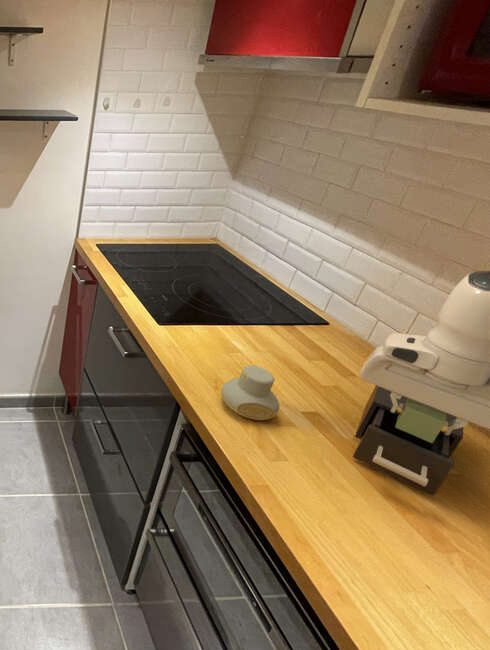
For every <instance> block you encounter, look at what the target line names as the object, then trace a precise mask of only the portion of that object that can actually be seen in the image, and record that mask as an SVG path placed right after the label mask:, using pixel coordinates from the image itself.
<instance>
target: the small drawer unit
mask: <svg viewBox="0 0 490 650" xmlns="http://www.w3.org/2000/svg"><path fill="white" fill-rule="evenodd" d="M390 394H391V391H389V390H387V389H384V388H381V387H379V386H376V385H374V388H373V390H372V392H371V394H370V396H369V398H368V400H367V402H366V403H365V407H364V409H363V413H362V415H361V418H360V421H359V423H358V426H357V430H356V433H355V434H354V437H356V438H358V439H360V440H361V439H362V437H363V436H364V434H365V432H366V430H367V428H368V426H369V423H370V421H371V419H372V417H373V415H374V414H375V412H376V410H377V408H378V407H381V408H383V409H386V410H388V411H391V408H392V406H393V403H392V400H391V397H390ZM407 399H408V398H407V397H404V396H402V397H401V398H400V399H399V402H400V403H401V404H405V402H406V400H407ZM455 419H456V416H453V415H451V414H448V413H446V422H450V421H453V420H455ZM464 430H465V429H464V427H461V428H458V429H453V430H452V431H451V433H450V435H449V436H450V444H449V454H448V457H447V459H450V458H451V457H452V456H453V454H454V452H455V451H456V449H457V448H458V446H459V445H460V443H461V441H462V440H463V439H464Z"/></svg>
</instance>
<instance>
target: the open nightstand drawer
mask: <svg viewBox="0 0 490 650" xmlns="http://www.w3.org/2000/svg"><path fill="white" fill-rule="evenodd" d="M397 419H398V415H397V414H394V413H392V412H390V411H388V410H386V409H383V408H381V407H378V408H377V410H376V412H375V414H374V415H373V417H372V419H371V421H370V423H369V426H368V428H367V430H366V432H365V434H364V436H363V437H362V439H360V441H359V443H358V444H357V447H356V449H355V450H354V452H353V455H352V458H354V459H356V460H358V461H360V462H362V463H364V464H366V465H368V466H371V467H372V468H374V469H376V470H378V471H380V472H383V473H384V474H387V475H388V476H390V477H393V478H395V479H397V480H399V481H401V482H403V483H405V484H407V485H410V486H412V487H413V488H416V489H418V490H420V491H422V492H424V493H426V494H428V495H430V496H432V497H434V496H435V495H436V493H437V491H438V490H439V488H440V487H441V485H442V484H443V482H444V481H445V480H446V478H447V476H448V475H449V473H450V472H451V470H452V469H453V468H454V466H455V461H454V460H452V459H450V458H449V459H447V457H448V454H449V444H450V436H448V435H445V434H443V433H440V432H439V434H438V435H437V437H436V438H435V440H434V442H433V443H430V442H428V441H425V440H423V439H421V438H418V437H416V436H414V435H411V434H409V433H407V432H404V431H402V430H400V429H397V428H395V427H396V423H397Z"/></svg>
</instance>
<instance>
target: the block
mask: <svg viewBox="0 0 490 650" xmlns="http://www.w3.org/2000/svg"><path fill="white" fill-rule="evenodd" d="M404 405H405V407H404V410H403V412H402V414H401V416H399V415H398V419H397V423H396V427H395V428H397V429H400V430H402V431H404V432H407V433H409V434H411V435H414V436H416V437H418V438H421V439H423V440H425V441H428V442H430V443H433V442H434V440H435V438H436V437H437V435H438V434H439V432H440V430H441V429H442V427H443V426H444V424H445V421H446V413H445V412H443V411H440V410H438V409H435V408H433V407H430V406H428V405H425V404H422V403H420V402H417V401H415V400H412V399H410V398H408V399H407V400H406V402H405V404H404Z"/></svg>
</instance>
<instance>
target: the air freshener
mask: <svg viewBox="0 0 490 650" xmlns="http://www.w3.org/2000/svg"><path fill="white" fill-rule="evenodd" d="M274 383H275V377H274V374H272V373H271V372H270V371H269V370H267V369H266V368H263V367H261V366H258V365H246V366H245V365H244V367H243V368H242V370H241V373H240V375H239V377H235V378H232V379H231V378H230V379H229V380H227V381H226V382H225V383H223V385H222V387H221V397H222V399H223V401H224V402H225V404H226V406H228V407H229V408H230V409H231V410H232V411H233V412H235V413H236V414H238V415H240V416H241V417H244V418H248V419H251V420H258V421H264V420H269V419H272V418H273V417H275V416H276V415H277V414H278V413H279V409H280V403H279V402H280V401H279V399H278V397H277V396H276V394H275V393H274V392H273V391H272V387H273V385H274Z"/></svg>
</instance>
